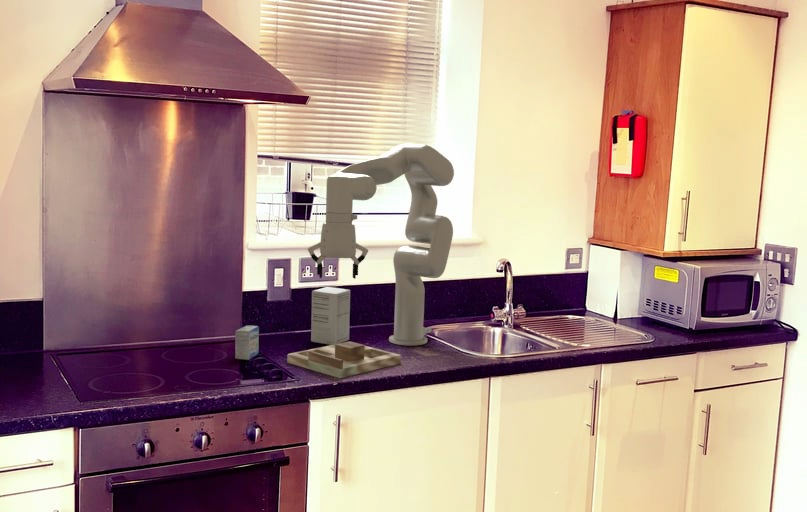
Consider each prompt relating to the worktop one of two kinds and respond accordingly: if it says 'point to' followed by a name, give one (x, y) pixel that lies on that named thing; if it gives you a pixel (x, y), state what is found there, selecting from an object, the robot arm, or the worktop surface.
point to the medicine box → (247, 342)
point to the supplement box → (330, 315)
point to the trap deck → (342, 361)
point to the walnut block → (349, 351)
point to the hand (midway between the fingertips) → (337, 277)
